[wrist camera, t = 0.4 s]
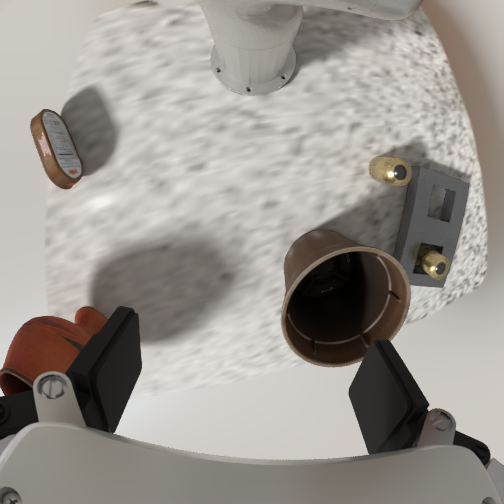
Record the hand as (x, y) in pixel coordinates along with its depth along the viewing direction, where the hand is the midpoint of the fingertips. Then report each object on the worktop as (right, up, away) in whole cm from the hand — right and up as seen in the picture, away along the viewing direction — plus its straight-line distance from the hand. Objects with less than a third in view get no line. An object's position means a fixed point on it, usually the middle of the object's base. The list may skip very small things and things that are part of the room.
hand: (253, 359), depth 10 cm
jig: (+31, +8, +33) cm, 47 cm away
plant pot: (+11, +2, +36) cm, 38 cm away
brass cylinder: (+20, +17, +30) cm, 41 cm away
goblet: (-33, -11, +40) cm, 53 cm away
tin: (-31, +22, +29) cm, 48 cm away
